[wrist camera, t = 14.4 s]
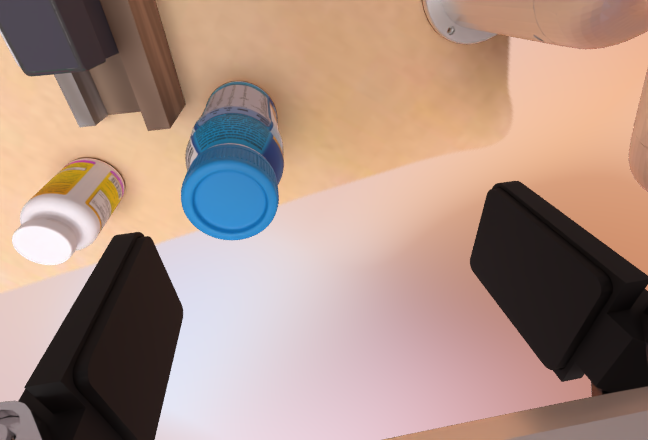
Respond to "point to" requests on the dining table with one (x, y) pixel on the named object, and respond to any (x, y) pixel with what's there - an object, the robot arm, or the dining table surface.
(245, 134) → the beverage bottle
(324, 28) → the dining table surface
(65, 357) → the robot arm
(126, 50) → the wooden channel stand
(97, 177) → the supplement bottle
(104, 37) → the calculator
